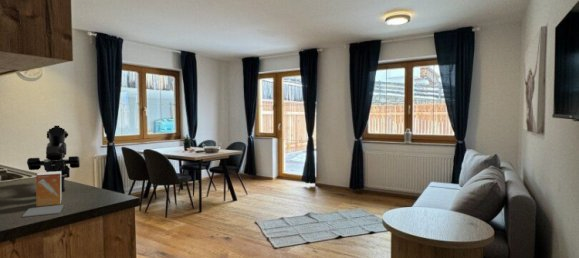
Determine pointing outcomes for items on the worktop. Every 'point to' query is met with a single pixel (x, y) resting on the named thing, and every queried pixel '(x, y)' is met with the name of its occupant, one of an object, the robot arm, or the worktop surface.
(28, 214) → the grey square plate
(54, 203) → the small box
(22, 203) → the worktop surface
